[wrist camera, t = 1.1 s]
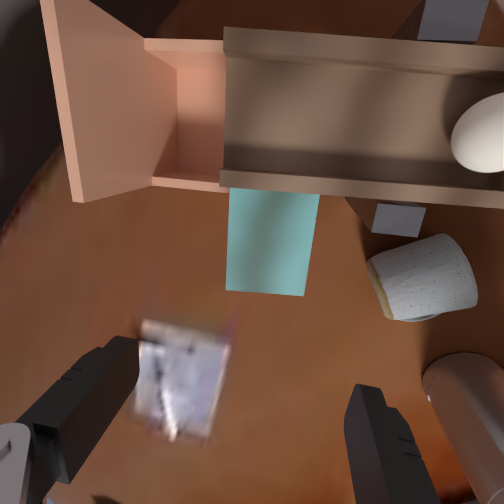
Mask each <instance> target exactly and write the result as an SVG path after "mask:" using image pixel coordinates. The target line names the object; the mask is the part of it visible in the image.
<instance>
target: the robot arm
mask: <svg viewBox="0 0 504 504" xmlns="http://www.w3.org/2000/svg"><path fill="white" fill-rule="evenodd" d="M139 371H140V369H139V347H138V341H137V339H133V338H128V337H123V336H115V337H113V338H112V339H111V340H110V341H109V342H108V343H107V344H106V345H105V346H104V348H101V347H97V348H95V349H93V350H92V351H90V352H88V353H86V354H85V355H83V356H82V357H81V358H80V359H79V360H78V361H77V362H76V363H75V364H74V365H73V366H72V367H71V369H70V370H68V371H67V372H66V373H65V374H63V375H62V376H61V379H60V380H59V379H58V380H57V381H56V382H55V383H54V384H53V385H52V386H51V387H50V388H49V389H48V390H47V391H46V392H45V393H44V394H43V395H42V396H41V397H40V398H39V399H38V400H37V401H36V402H35V403H34V404H33V405H32V406H31V407H30V408H29V409H28V410H27V411H26V412H25V413H24V414H23V415H22V416H21V417H20V418H19V419H18V420H16V421H15V422H14V423H8V424H3V425H0V504H46V503H47V493H48V492H49V490H50V489H51V487H52V486H53V485H54V483H55V482H56V481H58V482H61V483H65V484H70V483H71V481H72V480H73V478H74V477H75V475H76V474H77V472H78V471H79V469H80V468H81V466H82V465H83V463H84V462H85V460H86V459H87V458H88V456H89V455H90V453H91V452H92V450H93V449H94V447H95V446H96V444H97V443H98V441H99V440H100V438H101V437H102V435H103V434H104V432H105V431H106V429H107V428H108V426H109V425H110V423H111V422H112V420H113V419H114V417H115V416H116V414H117V413H118V411H119V410H120V408H121V407H122V405H123V404H124V402H125V401H126V399H127V398H128V396H129V395H130V393H131V392H132V390H133V389H134V387H135V385H136V383H137V380H138V377H139ZM422 386H423V389H424V392H425V394H426V396H427V398H428V400H429V402H430V404H431V406H432V408H433V410H434V412H435V414H436V416H437V418H438V420H439V422H440V424H441V427H442V429H443V431H444V433H445V435H446V437H447V439H448V441H449V443H450V445H451V447H452V449H453V451H454V453H455V455H456V457H457V459H458V461H459V463H460V465H461V467H462V469H463V471H464V473H465V475H466V477H467V479H468V481H469V483H470V485H471V487H472V489H473V491H474V493H475V495H476V497H477V499H478V501H479V503H480V504H504V368H501V367H500V366H498V365H497V364H496V363H495V362H494V361H493V360H491V359H490V358H488V357H486V356H483V355H480V354H476V353H455V354H450V355H447V356H444V357H442V358H440V359H438V360H436V361H435V362H433V363H432V364H431V365H430V366H429V367H428V368H427V369H426V371H425V373H424V375H423V379H422ZM344 435H345V441H346V447H347V453H348V459H349V464H350V470H351V476H352V482H353V488H354V494H355V500H356V504H441V503H440V501H439V498H438V496H437V493H436V491H435V488H434V486H433V483H432V481H431V478H430V476H429V474H428V471H427V469H426V466H425V464H424V461H423V460H422V459H421V454H420V451H419V449H418V446H417V445H416V444H415V439H414V437H413V434H412V432H411V429H410V427H409V424H408V423H407V422H406V420H405V419H404V418H403V417H402V415H401V414H400V413H399V411H398V410H397V409H396V408H392V407H387V404H386V402H385V399H384V396H383V393H382V391H381V389H380V388H377V387H372V386H367V385H362V384H356V385H355V386H354V389H353V392H352V395H351V398H350V401H349V404H348V407H347V410H346V413H345V418H344Z"/></svg>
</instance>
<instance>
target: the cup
mask: <svg viewBox="0 0 504 504" xmlns="http://www.w3.org/2000/svg"><path fill="white" fill-rule="evenodd" d="M40 3H41V9H42V15H43V21H44V28H45V34H46V40H47V46H48V52H49V58H50V64H51V70H52V77H53V83H54V89H55V95H56V101H57V107H58V113H59V119H60V125H61V131H62V137H63V144H64V150H65V156H66V162H67V168H68V174H69V181H70V187H71V193H72V199H73V202H81V203H85V202H89V201H93V200H97V199H101V198H105V197H109V196H113V195H117V194H120V193H124V192H128V191H132V190H136V189H140V188H144V187H148V186H152V185H155V186H164V187H174V188H184V189H194V190H203V191H213V192H223V193H230V188H228V187H219V177H220V169H222V168H223V157H224V126H225V95H226V64H227V58H226V56H225V53H224V51H223V40H193V39H156V38H143V37H142V36H140V35H139V34H137V33H136V32H134V31H133V30H131V29H130V28H128V27H127V26H125V25H124V24H122V23H121V22H119V21H118V20H116V19H115V18H114V17H112V16H111V15H109V14H108V13H106V12H105V11H103V10H102V9H100V8H99V7H97V6H96V5H94V4H93V3H92V2H90V1H89V0H40Z"/></svg>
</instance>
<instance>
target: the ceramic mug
mask: <svg viewBox="0 0 504 504" xmlns="http://www.w3.org/2000/svg"><path fill="white" fill-rule="evenodd" d="M366 266H367V270H368V273H369V276H370V279H371V281H372V284H373V287H374V290H375V293H376V296H377V298H378V301H379V304H380V307H381V309H382V312H383V314H384V316H385V317H387V318H388V319H390V320H402V321H407V322H415V321H422V320H427V319H430V318H433V317H435V316H437V315H439V314H441V313H444V312H449V311H455V310H461V309H467V308H471V307H474V306H475V305H476V304H477V301H478V290H477V285H476V281H475V278H474V275H473V271H472V269H471V266H470V264H469V262H468V260H467V258H466V256H465V255H464V254H463V252H462V250H461V248H460V246H459V245H458V244H457V243H456V242H455V241H454V240H453V239H452V238H451V237H450V236H449V235H447V234H444V233H440V234H437V235H434V236H431V237H428V238H425V239H422V240H418V241H415V242H412V243H409V244H406V245H403V246H400V247H398V248H394V249H391V250H387V251H384V252H381V253H379V254H377V255H375V256H373V257H371V258H369V259H368V261H367V263H366Z"/></svg>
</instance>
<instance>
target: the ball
mask: <svg viewBox="0 0 504 504" xmlns="http://www.w3.org/2000/svg"><path fill="white" fill-rule="evenodd" d="M451 150H452V153H453V155H454V157H455V159H456V160H457V161H458V162H459V163H460V164H461V165H462V166H464V167H466V168H467V169H470V170H473V171H476V172H483V173H492V172H499V171H503V170H504V93H500V94H496V95H492V96H490V97H487V98H485V99H483V100H481V101H479V102H478V103H476V104H474V105H473V106H472V107H470V108H469V109H468V110H467V111H466V112H465V113H464V114H463V115H462V116H461V117H460V119H459V120H458V121H457V123H456V125H455V127H454V129H453V132H452V135H451Z"/></svg>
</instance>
